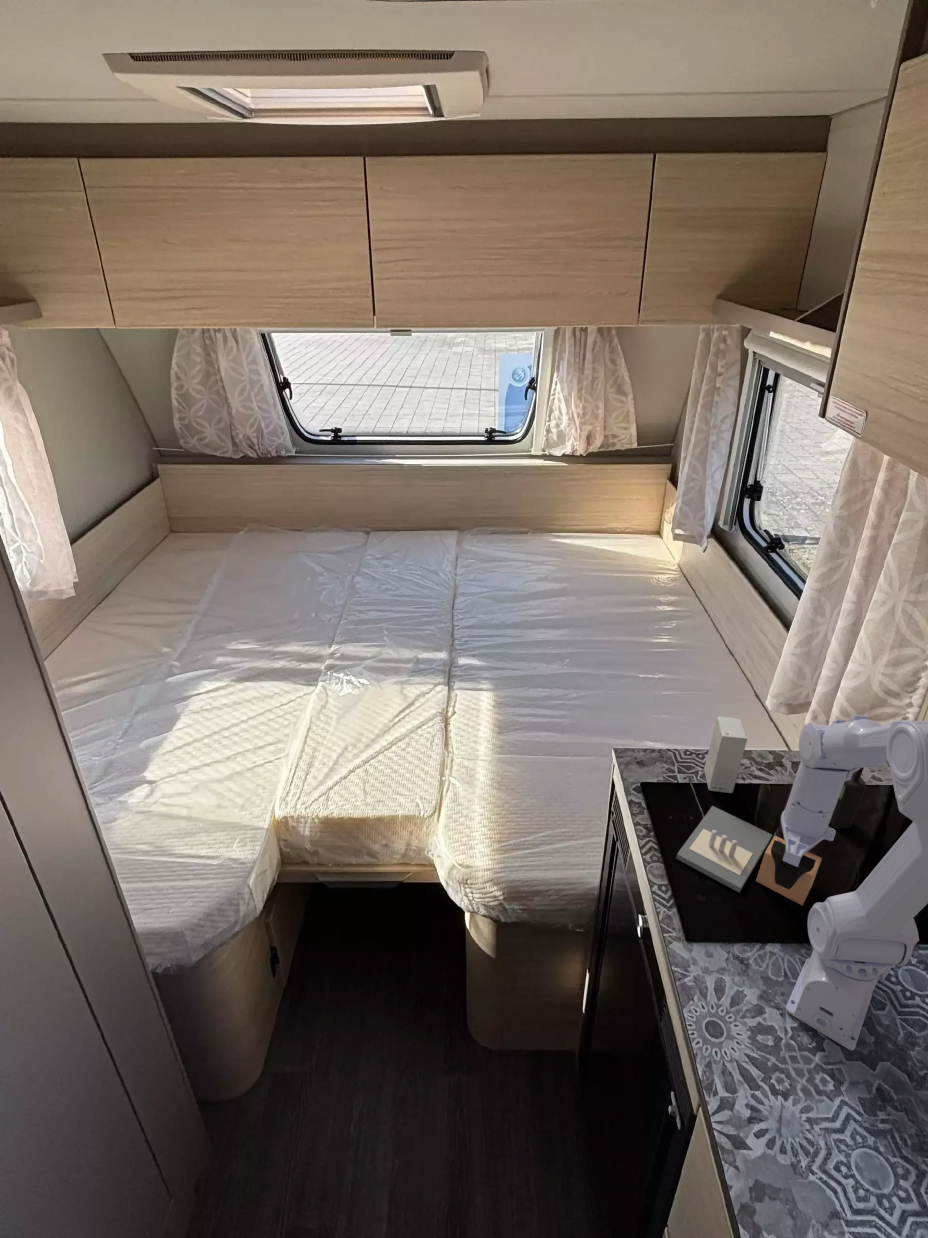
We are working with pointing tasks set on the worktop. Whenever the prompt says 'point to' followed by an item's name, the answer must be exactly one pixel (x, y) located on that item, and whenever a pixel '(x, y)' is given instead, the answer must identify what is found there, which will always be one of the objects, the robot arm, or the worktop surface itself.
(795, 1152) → the worktop surface
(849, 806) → the walkie-talkie
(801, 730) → the robot arm
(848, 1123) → the worktop surface
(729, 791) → the skincare box
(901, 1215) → the worktop surface
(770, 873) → the plug housing
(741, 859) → the board
